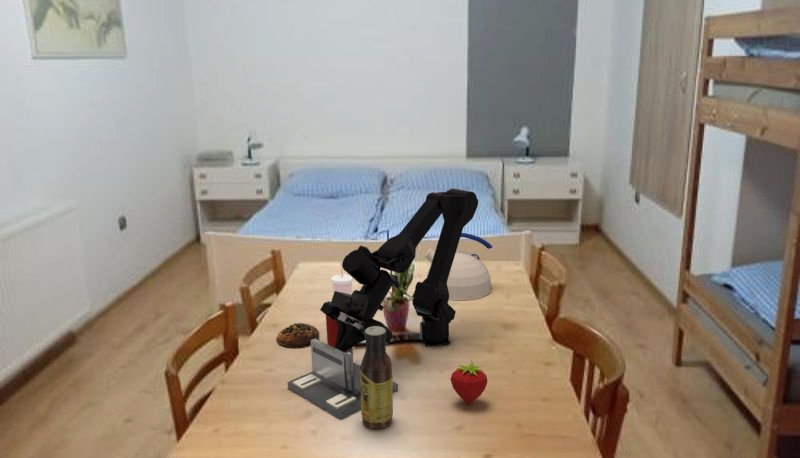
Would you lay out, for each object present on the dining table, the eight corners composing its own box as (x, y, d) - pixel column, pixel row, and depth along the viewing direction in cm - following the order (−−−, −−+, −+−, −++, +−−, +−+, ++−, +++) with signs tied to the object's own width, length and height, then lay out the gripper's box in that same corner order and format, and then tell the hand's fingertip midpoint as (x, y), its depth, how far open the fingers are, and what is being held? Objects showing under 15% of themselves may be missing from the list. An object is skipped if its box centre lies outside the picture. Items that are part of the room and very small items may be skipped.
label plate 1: (311, 375, 142) (311, 373, 142) (321, 381, 140) (321, 379, 140) (292, 383, 139) (292, 381, 139) (302, 389, 137) (302, 387, 136)
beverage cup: (357, 308, 184) (356, 261, 180) (339, 313, 181) (337, 265, 177) (347, 301, 189) (345, 256, 185) (328, 306, 186) (326, 260, 182)
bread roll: (307, 351, 158) (304, 331, 157) (269, 350, 162) (265, 331, 161) (328, 334, 168) (325, 316, 167) (291, 334, 172) (288, 316, 171)
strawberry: (451, 395, 136) (451, 351, 134) (487, 397, 135) (488, 353, 132) (449, 409, 131) (449, 365, 128) (486, 412, 129) (487, 367, 127)
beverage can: (349, 355, 155) (347, 309, 152) (324, 353, 156) (321, 307, 153) (356, 344, 161) (354, 299, 158) (331, 342, 162) (329, 298, 159)
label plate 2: (344, 393, 135) (344, 391, 134) (356, 399, 132) (356, 397, 132) (325, 402, 131) (325, 400, 131) (337, 409, 129) (337, 407, 129)
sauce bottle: (361, 414, 130) (357, 322, 124) (392, 412, 130) (390, 321, 125) (362, 432, 123) (358, 337, 118) (394, 430, 124) (392, 335, 119)
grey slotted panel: (355, 388, 134) (354, 352, 132) (349, 391, 133) (348, 354, 131) (317, 368, 143) (315, 333, 141) (311, 370, 142) (309, 336, 140)
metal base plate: (344, 363, 151) (343, 354, 150) (398, 390, 139) (397, 380, 138) (287, 388, 140) (287, 378, 140) (340, 419, 128) (340, 409, 127)
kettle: (427, 277, 209) (427, 223, 204) (491, 279, 206) (493, 224, 202) (420, 299, 190) (420, 241, 185) (491, 302, 187) (493, 242, 182)
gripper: (324, 267, 145) (286, 327, 140) (381, 286, 132) (342, 353, 127) (352, 291, 152) (317, 348, 147) (408, 311, 139) (372, 375, 134)
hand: (335, 355), depth 139 cm, fingers closed
